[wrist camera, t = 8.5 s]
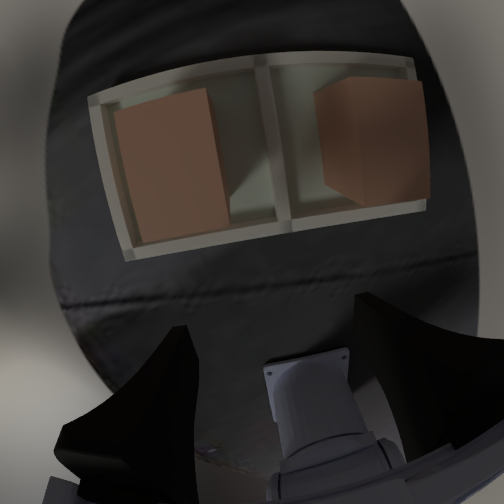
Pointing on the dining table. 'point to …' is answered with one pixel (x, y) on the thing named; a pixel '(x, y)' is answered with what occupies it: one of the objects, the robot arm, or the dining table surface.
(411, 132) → the loose block
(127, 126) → the seated block
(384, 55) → the divided tray
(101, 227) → the dining table surface
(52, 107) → the dining table surface
